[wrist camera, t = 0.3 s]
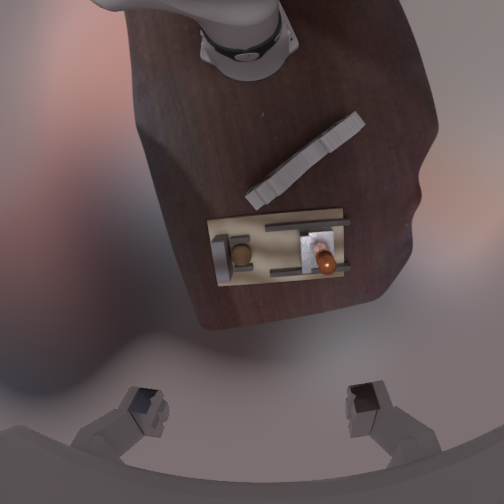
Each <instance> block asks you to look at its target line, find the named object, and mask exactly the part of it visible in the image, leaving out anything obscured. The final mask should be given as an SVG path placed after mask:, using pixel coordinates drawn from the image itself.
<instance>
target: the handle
mask: <svg viewBox="0 0 504 504" xmlns="http://www.w3.org/2000/svg"><path fill="white" fill-rule="evenodd" d="M299 244H300V259H301V268H302V273H303V274H304V273H311V269H312V268H319V271H320V272H321V273H322V274H324V275H331V274H333V273H334V272H335V271H336V269H337V263H336V261H335V259H334V233H333V230H332V228H321V229H308V230H299Z"/></svg>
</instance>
